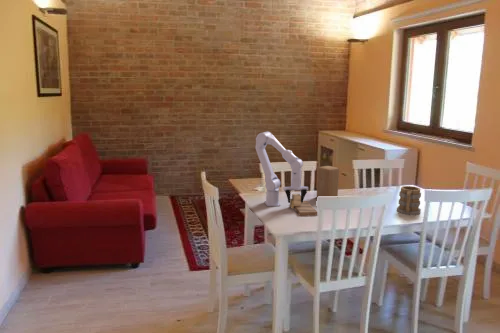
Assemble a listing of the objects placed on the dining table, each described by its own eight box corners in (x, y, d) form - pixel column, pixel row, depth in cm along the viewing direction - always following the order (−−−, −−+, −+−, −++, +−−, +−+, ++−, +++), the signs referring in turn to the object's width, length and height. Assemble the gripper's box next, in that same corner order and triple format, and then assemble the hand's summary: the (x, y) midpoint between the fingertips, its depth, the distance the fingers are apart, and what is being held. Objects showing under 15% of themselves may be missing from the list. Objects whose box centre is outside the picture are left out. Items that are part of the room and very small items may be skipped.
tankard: (399, 207, 270) (401, 182, 267) (421, 210, 264) (423, 185, 261) (393, 215, 252) (395, 190, 249) (416, 219, 246) (419, 193, 243)
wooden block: (315, 197, 287) (317, 166, 283) (326, 195, 293) (328, 165, 289) (327, 200, 280) (328, 169, 276) (338, 198, 285) (340, 167, 281)
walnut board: (290, 204, 270) (290, 201, 269) (306, 204, 271) (306, 201, 271) (299, 215, 249) (300, 212, 248) (317, 215, 250) (317, 211, 250)
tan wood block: (290, 206, 265) (290, 193, 264) (298, 206, 266) (298, 193, 264) (292, 208, 260) (292, 196, 259) (300, 208, 261) (300, 195, 260)
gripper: (285, 181, 255) (284, 204, 258) (310, 181, 257) (309, 203, 260) (282, 178, 262) (282, 201, 264) (306, 178, 264) (305, 200, 267)
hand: (295, 202), depth 263 cm, fingers open, 7 cm apart
